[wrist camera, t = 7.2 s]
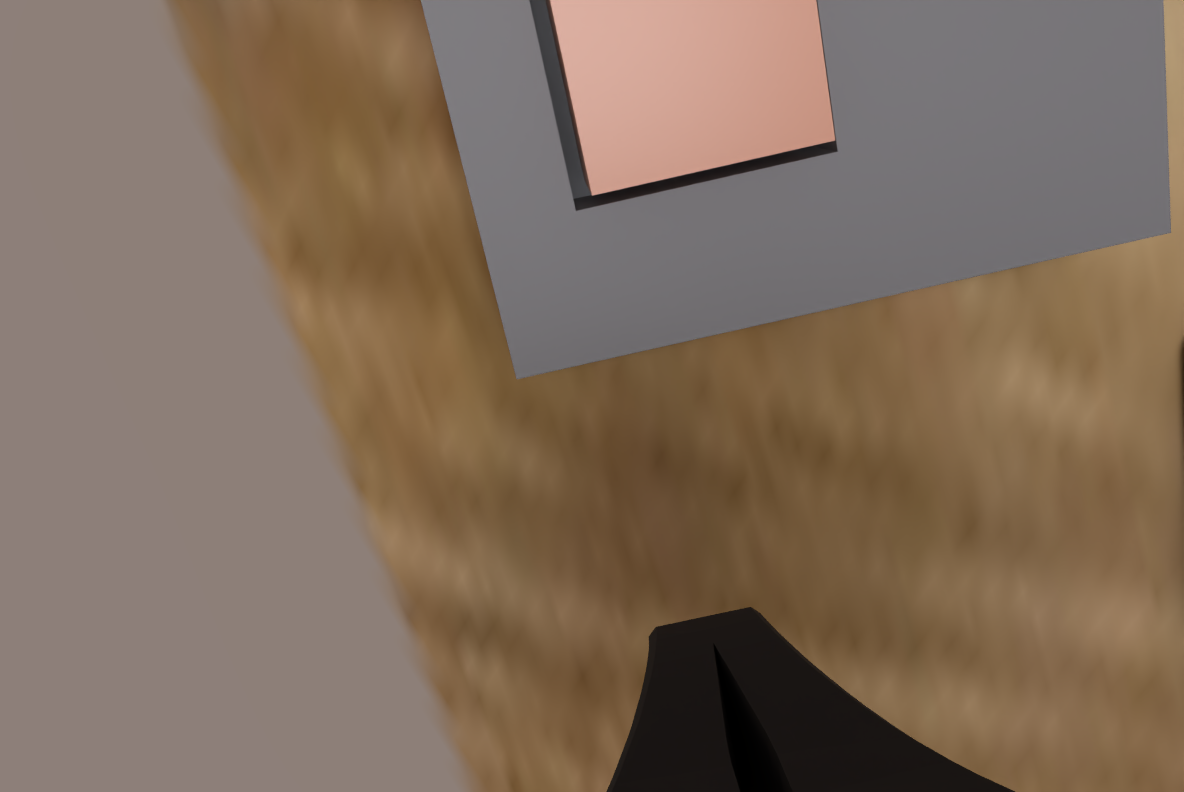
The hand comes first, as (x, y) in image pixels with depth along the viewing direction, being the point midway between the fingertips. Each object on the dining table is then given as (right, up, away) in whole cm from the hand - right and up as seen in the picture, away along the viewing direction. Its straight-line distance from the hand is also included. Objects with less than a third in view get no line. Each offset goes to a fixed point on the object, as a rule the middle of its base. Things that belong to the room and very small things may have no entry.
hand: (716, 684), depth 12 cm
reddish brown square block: (0, +10, +6) cm, 12 cm away
